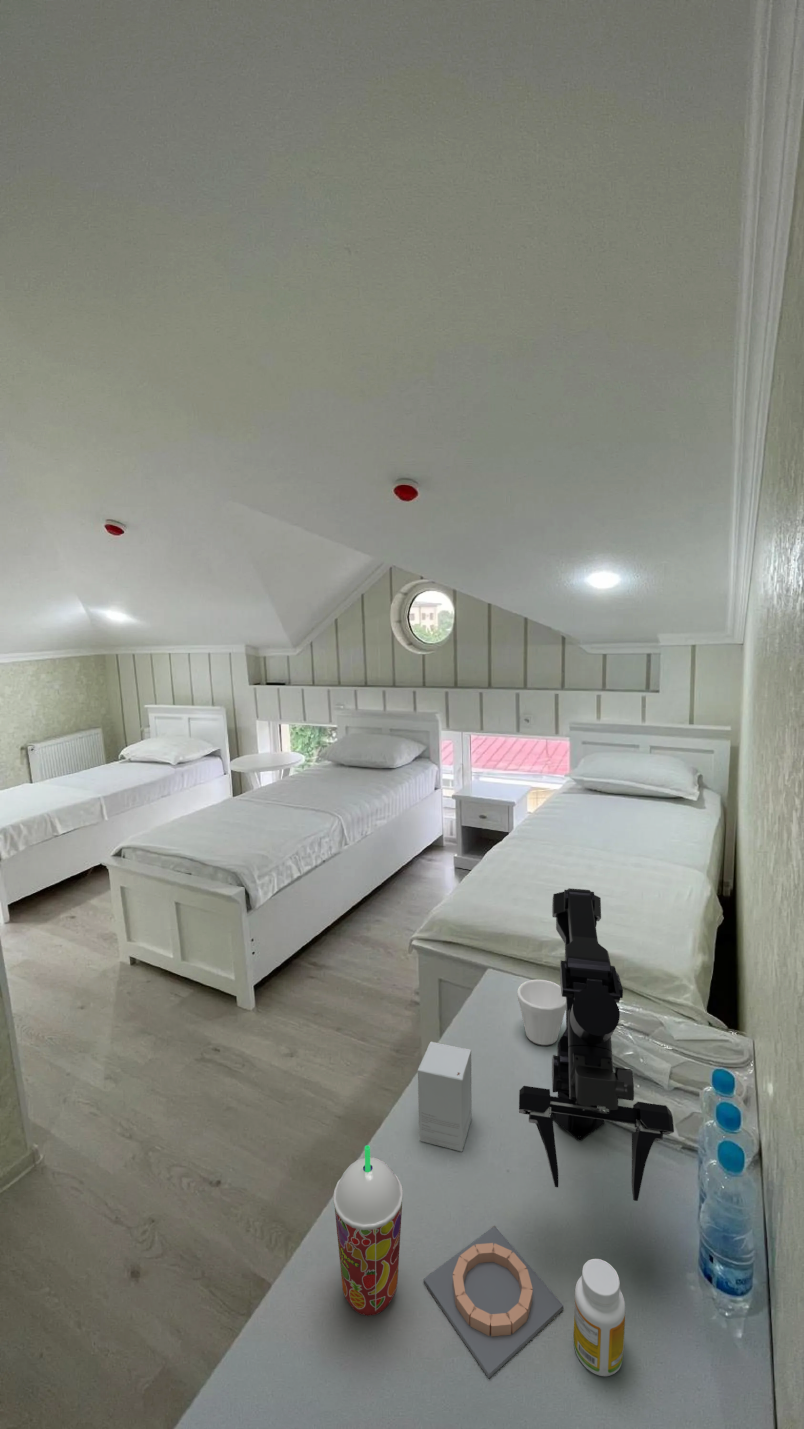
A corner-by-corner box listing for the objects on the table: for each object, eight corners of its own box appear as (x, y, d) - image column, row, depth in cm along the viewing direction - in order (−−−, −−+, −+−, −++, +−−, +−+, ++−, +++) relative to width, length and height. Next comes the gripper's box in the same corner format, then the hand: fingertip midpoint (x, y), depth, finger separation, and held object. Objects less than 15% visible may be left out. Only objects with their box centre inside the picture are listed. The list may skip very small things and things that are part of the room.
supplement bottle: (616, 1325, 72) (619, 1253, 70) (628, 1381, 66) (632, 1305, 65) (569, 1321, 72) (571, 1249, 71) (577, 1376, 67) (580, 1300, 66)
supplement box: (472, 1118, 102) (473, 1049, 100) (462, 1154, 95) (462, 1080, 94) (430, 1107, 105) (430, 1039, 103) (417, 1141, 98) (416, 1069, 96)
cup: (510, 1022, 127) (510, 980, 125) (556, 1018, 128) (558, 977, 127) (525, 1055, 117) (526, 1010, 116) (575, 1051, 118) (576, 1006, 117)
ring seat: (494, 1229, 83) (494, 1216, 83) (563, 1309, 73) (563, 1295, 73) (423, 1283, 77) (423, 1269, 76) (488, 1378, 67) (489, 1363, 66)
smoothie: (327, 1273, 78) (323, 1132, 75) (388, 1246, 81) (386, 1111, 78) (348, 1342, 70) (344, 1189, 67) (414, 1310, 74) (413, 1163, 71)
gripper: (520, 1030, 79) (517, 1180, 70) (674, 1049, 75) (692, 1210, 66) (520, 1045, 88) (517, 1180, 79) (658, 1063, 84) (672, 1207, 75)
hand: (595, 1194), depth 74 cm, fingers open, 9 cm apart
